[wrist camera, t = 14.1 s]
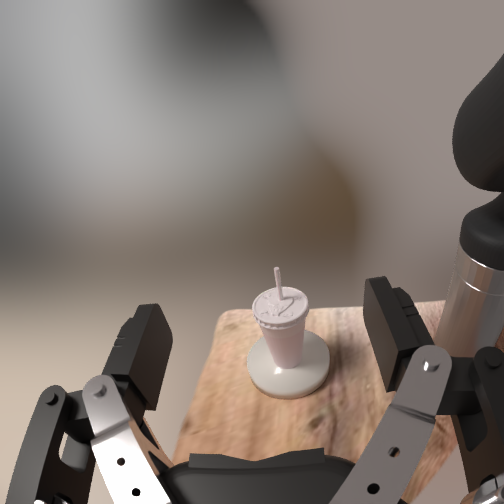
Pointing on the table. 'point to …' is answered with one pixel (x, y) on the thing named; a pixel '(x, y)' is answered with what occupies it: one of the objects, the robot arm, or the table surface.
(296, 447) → the table surface
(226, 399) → the table surface
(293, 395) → the trivet
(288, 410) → the table surface
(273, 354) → the smoothie
